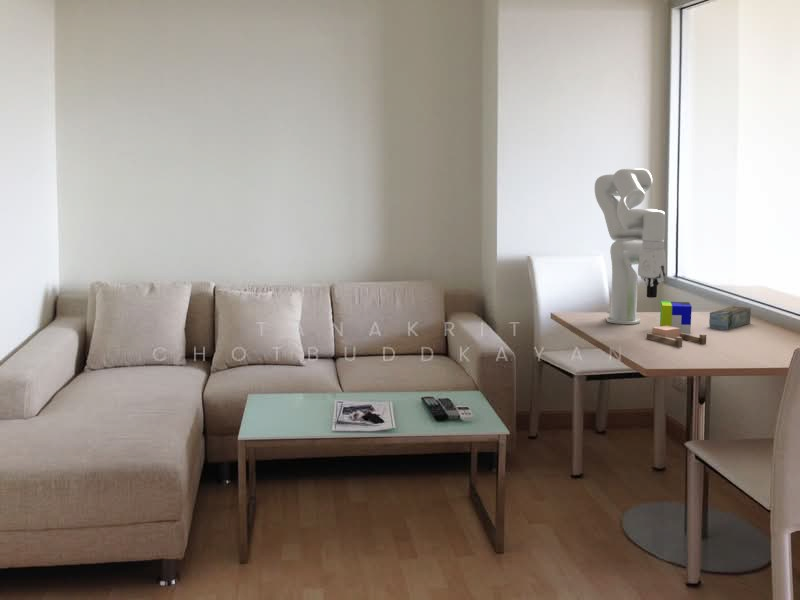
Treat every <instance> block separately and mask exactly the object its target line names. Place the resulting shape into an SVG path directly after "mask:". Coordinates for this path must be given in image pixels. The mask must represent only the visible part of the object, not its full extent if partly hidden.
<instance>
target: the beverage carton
mask: <svg viewBox="0 0 800 600" xmlns="http://www.w3.org/2000/svg"><path fill="white" fill-rule="evenodd" d="M751 308H752V307H744V306H734V305H732V306H729V307H726V308H722V309H719V310H716V311H711V312H709V319H708V320H709V321H708V322H709V323H708V324H709V328H711V329H717V330H718V329H719V330H726V331H729V330H731V329H732V330H733V329H735V328H738V327H739V328H740V327H742V326H745V325H749V324H751Z"/></svg>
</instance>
